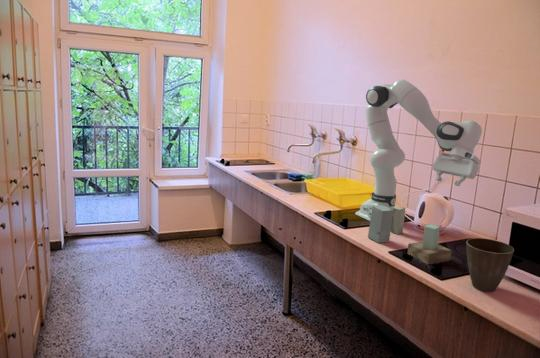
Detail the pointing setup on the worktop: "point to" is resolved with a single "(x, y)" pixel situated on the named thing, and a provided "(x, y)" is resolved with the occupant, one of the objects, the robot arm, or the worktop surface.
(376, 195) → the robot arm
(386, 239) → the skincare box
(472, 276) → the plant pot
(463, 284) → the worktop surface
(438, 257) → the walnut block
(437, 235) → the sage column
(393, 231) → the box
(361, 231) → the worktop surface
